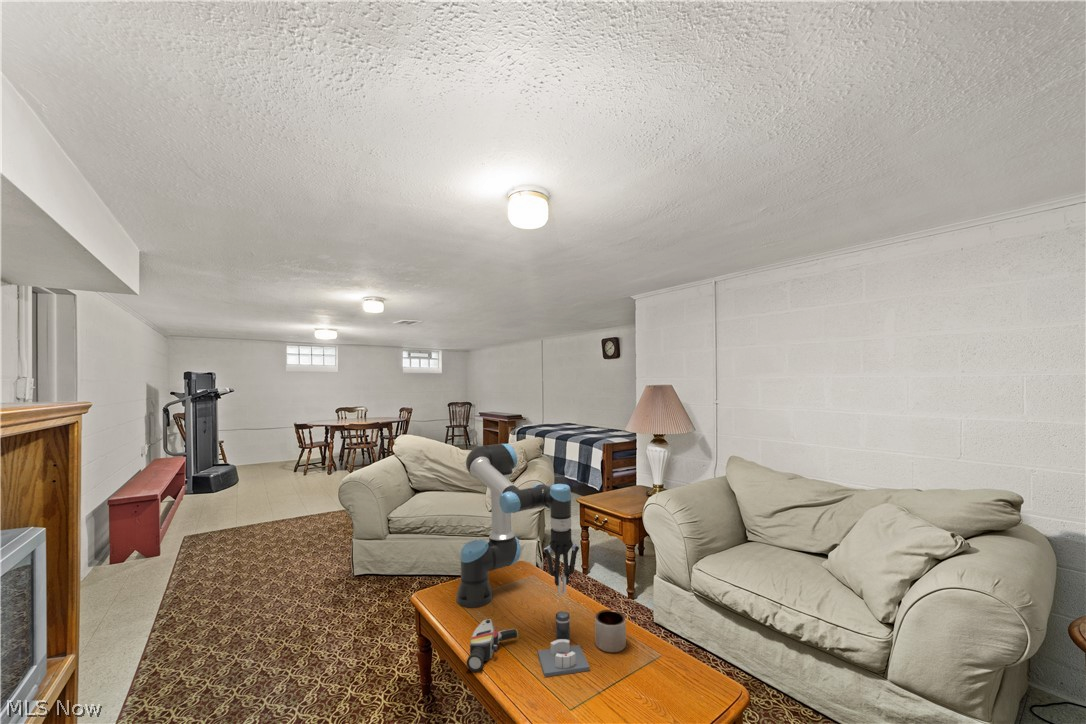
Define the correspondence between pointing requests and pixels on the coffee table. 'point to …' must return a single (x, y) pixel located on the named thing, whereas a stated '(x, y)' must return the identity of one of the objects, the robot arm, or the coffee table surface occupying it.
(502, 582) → the coffee table surface
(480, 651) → the film camera
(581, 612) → the coffee table surface
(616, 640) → the planter
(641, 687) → the coffee table surface
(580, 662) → the mount
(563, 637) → the lens
